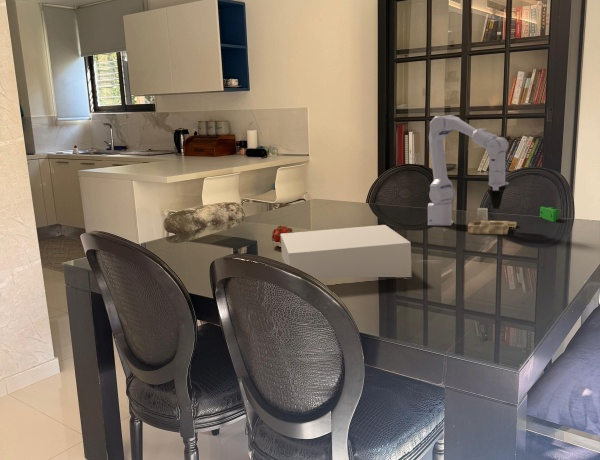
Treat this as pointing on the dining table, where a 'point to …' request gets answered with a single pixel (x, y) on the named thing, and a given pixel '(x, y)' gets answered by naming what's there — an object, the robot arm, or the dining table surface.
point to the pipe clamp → (549, 213)
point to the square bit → (482, 214)
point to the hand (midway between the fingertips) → (496, 206)
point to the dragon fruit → (278, 231)
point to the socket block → (488, 227)
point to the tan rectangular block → (512, 224)
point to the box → (348, 252)
